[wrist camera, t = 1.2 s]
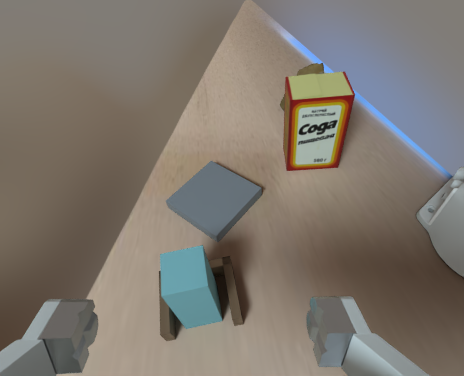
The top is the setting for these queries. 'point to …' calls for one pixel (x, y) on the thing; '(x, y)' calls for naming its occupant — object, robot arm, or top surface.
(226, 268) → the walnut cubby
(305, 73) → the rock
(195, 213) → the slate tile
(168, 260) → the teal block
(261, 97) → the top surface
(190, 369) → the top surface
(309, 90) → the baking soda box
